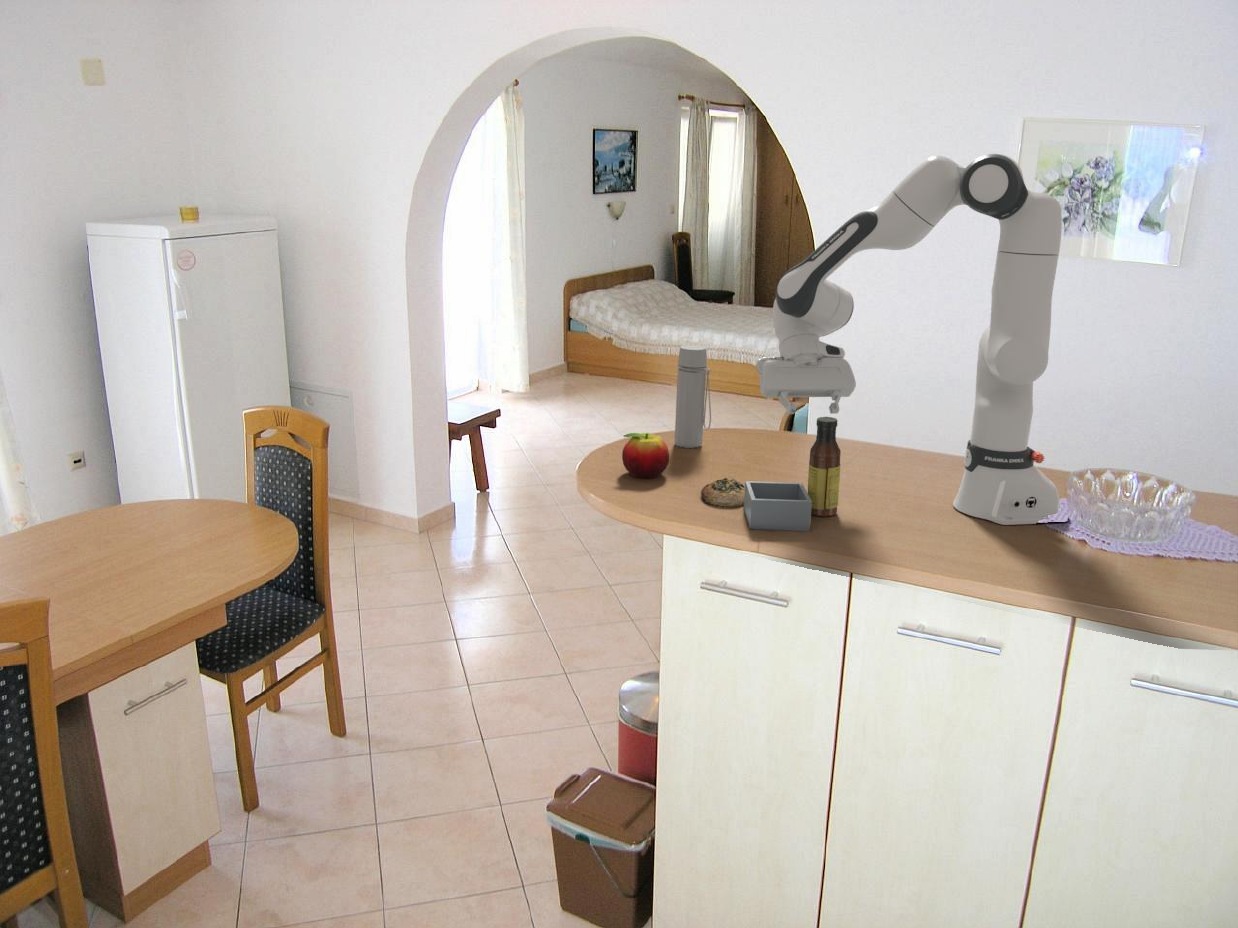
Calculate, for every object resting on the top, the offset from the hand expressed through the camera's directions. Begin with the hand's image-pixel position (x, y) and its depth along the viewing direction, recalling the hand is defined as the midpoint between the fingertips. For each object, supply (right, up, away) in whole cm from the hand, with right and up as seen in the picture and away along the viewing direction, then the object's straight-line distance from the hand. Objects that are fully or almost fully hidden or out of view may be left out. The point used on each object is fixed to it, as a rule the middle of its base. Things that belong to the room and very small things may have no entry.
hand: (813, 412), depth 198 cm
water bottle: (-22, -6, +42) cm, 48 cm away
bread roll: (-18, -19, +4) cm, 26 cm away
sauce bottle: (+1, -21, -3) cm, 21 cm away
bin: (-9, -22, -8) cm, 25 cm away
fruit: (-35, -13, +18) cm, 41 cm away
